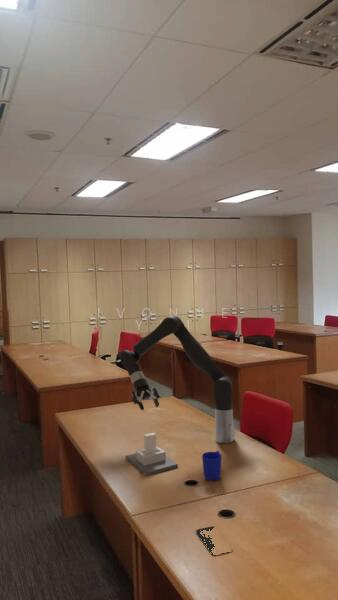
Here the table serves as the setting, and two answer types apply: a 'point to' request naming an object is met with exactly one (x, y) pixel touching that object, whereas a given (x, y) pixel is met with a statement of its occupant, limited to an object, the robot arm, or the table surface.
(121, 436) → the table surface
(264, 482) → the table surface
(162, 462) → the block insertion holder
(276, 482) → the table surface
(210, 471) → the mug
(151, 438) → the rectangular block
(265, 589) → the table surface
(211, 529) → the phone
